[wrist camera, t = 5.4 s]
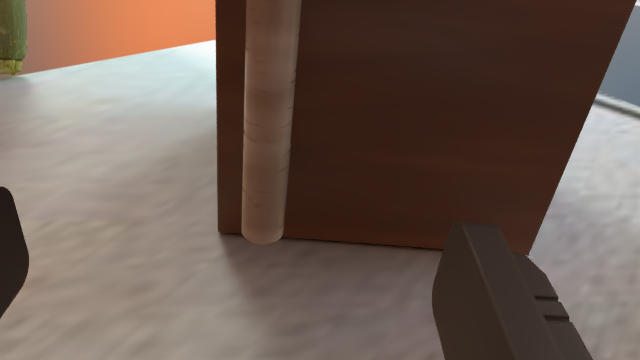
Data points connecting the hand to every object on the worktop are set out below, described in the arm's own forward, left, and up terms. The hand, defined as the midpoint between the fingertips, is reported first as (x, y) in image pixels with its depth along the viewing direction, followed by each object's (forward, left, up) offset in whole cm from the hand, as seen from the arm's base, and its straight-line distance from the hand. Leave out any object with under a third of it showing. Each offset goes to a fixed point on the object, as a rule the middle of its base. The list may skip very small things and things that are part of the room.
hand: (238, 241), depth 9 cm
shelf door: (-9, -7, -10) cm, 15 cm away
